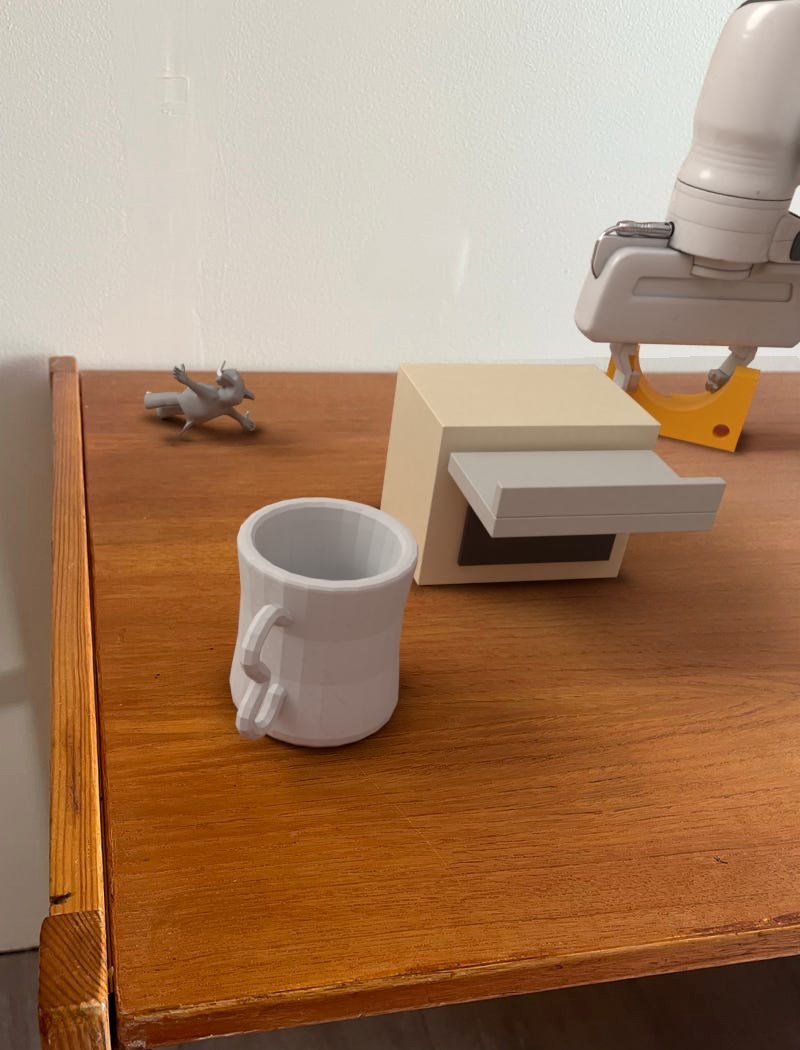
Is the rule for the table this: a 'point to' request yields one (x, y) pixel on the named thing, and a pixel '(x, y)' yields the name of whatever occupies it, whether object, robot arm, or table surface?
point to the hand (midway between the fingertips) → (670, 391)
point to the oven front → (529, 473)
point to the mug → (320, 620)
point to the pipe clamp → (698, 408)
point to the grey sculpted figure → (203, 399)
